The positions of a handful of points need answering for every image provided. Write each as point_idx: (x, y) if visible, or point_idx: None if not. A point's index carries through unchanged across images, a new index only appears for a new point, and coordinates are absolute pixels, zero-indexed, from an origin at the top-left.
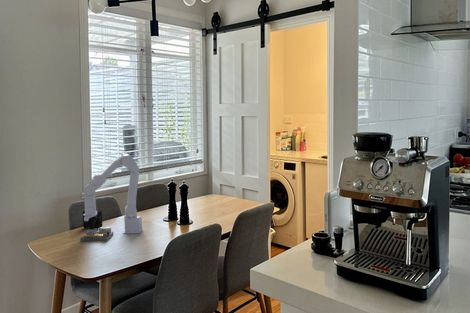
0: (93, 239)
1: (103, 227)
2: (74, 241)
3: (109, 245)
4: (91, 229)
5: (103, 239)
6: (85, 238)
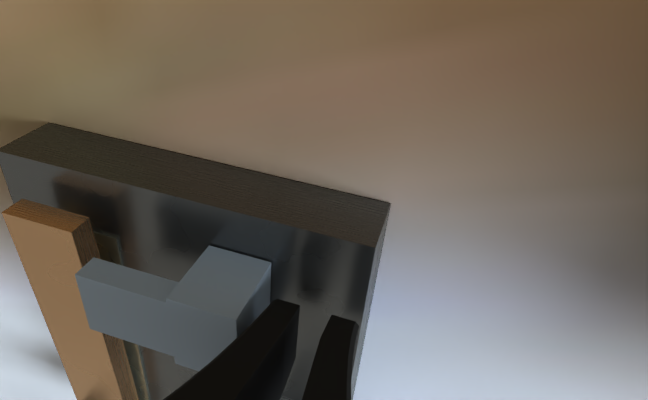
0: None
1: None
2: (36, 14)
3: (26, 389)
4: None
5: None
6: None
